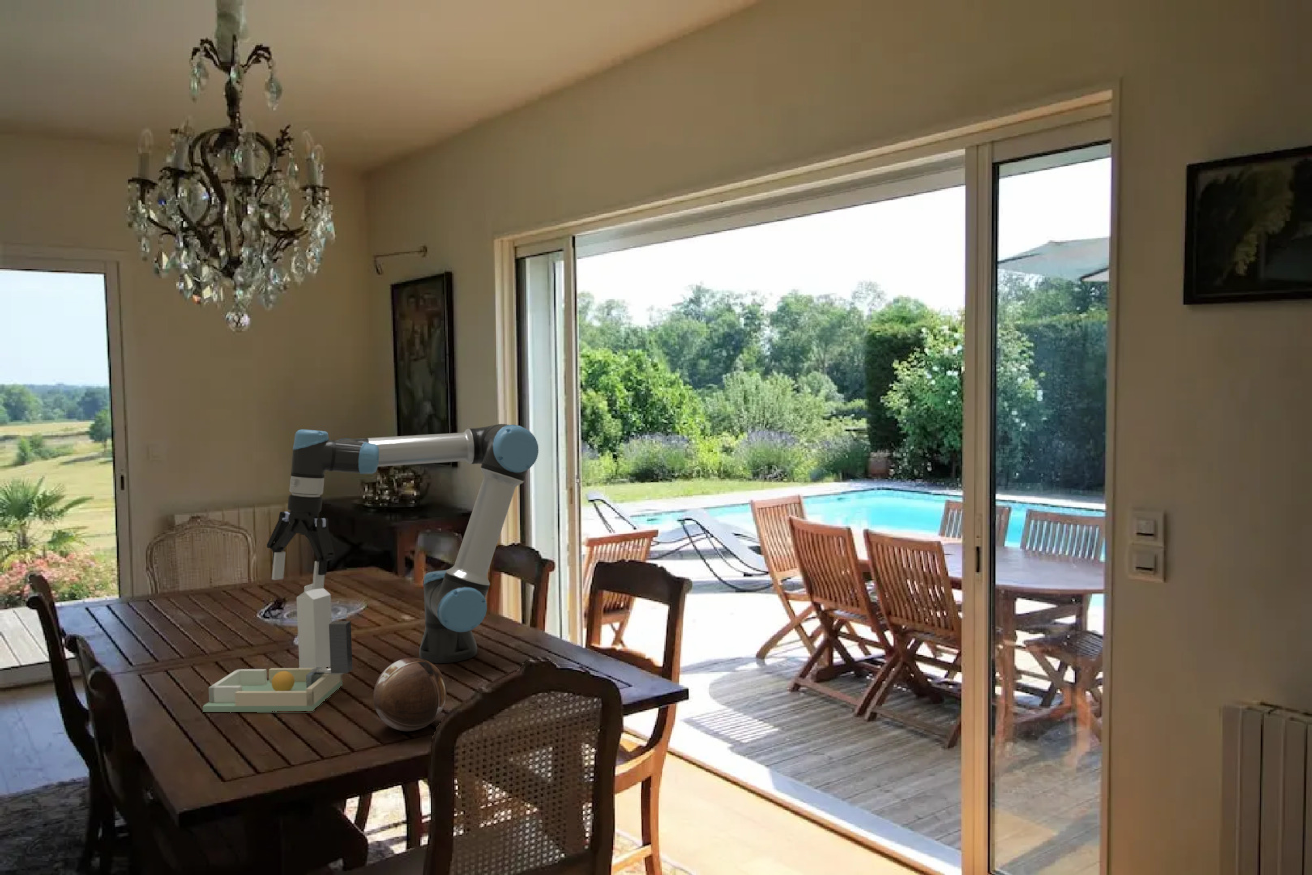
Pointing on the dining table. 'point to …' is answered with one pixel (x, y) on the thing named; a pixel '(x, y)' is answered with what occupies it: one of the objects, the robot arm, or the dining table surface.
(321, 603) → the milk
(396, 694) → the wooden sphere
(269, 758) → the dining table surface
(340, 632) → the kicker rod
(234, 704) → the pitch
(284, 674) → the ball
